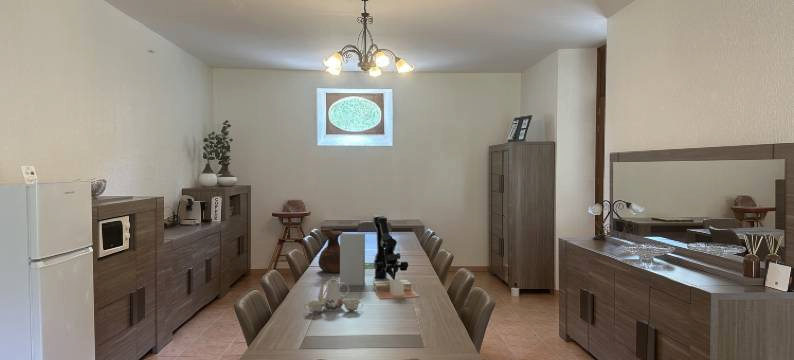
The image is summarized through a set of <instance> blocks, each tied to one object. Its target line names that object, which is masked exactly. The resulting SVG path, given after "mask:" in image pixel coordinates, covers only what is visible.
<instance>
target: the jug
mask: <svg viewBox="0 0 794 360" xmlns="http://www.w3.org/2000/svg"><path fill="white" fill-rule="evenodd" d="M320 232H321V233H323V235H324V236H325V237H326V238H327V245H326V247H324V248H323V249H322V250H321V252H320V254H319V257H318V266H319V268H320V270H321V271H323V272H326V273H331V274H332V273H334V274H337V273H338V274H340V241H339V238H340V235H342V234H344V232H343V231H341V230H337V231H335V230H334V231H331V229H329V228H321V229H320Z"/></svg>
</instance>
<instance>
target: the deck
mask: <svg viewBox="0 0 794 360" xmlns="http://www.w3.org/2000/svg"><path fill="white" fill-rule="evenodd" d="M401 280H402V281H403V282H404V291H411V290H412V283H411V282H410V281H408V280H407V279H401ZM372 286H373V287H372V288H373V290H374V291H375V292H390V280H377V281H375V280H374V281H373V282H372Z"/></svg>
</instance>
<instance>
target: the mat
mask: <svg viewBox="0 0 794 360" xmlns="http://www.w3.org/2000/svg"><path fill="white" fill-rule="evenodd" d="M375 295H376V296H377V297H378V299H380V300H388V299H389V300H390V299H407V298H420V295H419V294H418V293H417V292H416V291H414V290H413V289H411V291H404V295H400V296H393V295H392V294H391V293H390V292H376V291H375Z"/></svg>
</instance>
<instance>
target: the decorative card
mask: <svg viewBox="0 0 794 360" xmlns="http://www.w3.org/2000/svg"><path fill="white" fill-rule="evenodd" d="M373 263H374V262H365V270H375V268H374V267H373ZM400 263H401V261H399V259H398V260H397V263H396V264H400ZM392 270H393V268H392Z"/></svg>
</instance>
